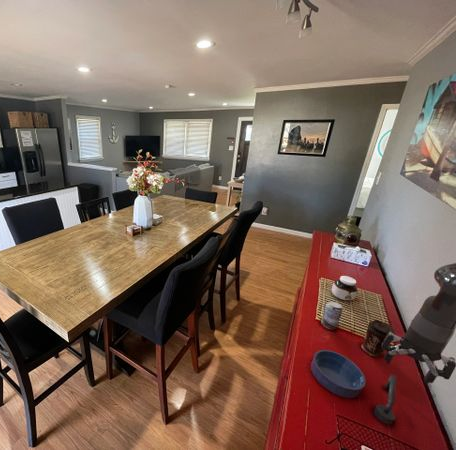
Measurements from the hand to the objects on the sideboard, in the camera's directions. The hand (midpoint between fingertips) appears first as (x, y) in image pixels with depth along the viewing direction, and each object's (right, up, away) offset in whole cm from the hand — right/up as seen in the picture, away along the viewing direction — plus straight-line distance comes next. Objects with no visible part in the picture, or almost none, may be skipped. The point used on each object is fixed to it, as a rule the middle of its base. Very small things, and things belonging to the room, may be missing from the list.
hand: (406, 371), depth 73 cm
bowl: (-11, -12, +15) cm, 22 cm away
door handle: (0, -15, +7) cm, 17 cm away
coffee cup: (+13, -8, +27) cm, 31 cm away
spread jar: (+27, +6, +59) cm, 65 cm away
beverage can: (+4, -2, +38) cm, 39 cm away
